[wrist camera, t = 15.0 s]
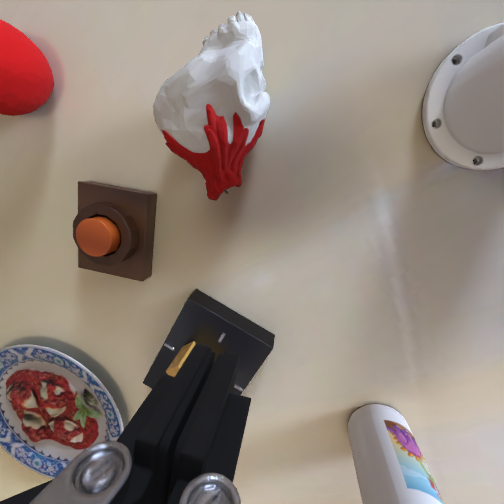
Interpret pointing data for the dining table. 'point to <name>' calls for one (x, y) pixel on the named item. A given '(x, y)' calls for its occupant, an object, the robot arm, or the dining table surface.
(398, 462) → the milk bottle
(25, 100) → the fruit
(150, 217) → the button block
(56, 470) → the ceramic plate
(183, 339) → the plate
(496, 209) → the dining table surface
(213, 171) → the white and red skull
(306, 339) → the dining table surface
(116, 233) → the button
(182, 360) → the tap lever
